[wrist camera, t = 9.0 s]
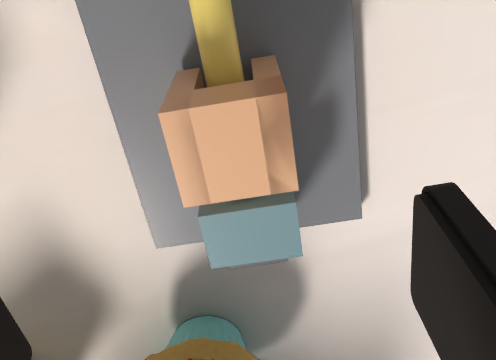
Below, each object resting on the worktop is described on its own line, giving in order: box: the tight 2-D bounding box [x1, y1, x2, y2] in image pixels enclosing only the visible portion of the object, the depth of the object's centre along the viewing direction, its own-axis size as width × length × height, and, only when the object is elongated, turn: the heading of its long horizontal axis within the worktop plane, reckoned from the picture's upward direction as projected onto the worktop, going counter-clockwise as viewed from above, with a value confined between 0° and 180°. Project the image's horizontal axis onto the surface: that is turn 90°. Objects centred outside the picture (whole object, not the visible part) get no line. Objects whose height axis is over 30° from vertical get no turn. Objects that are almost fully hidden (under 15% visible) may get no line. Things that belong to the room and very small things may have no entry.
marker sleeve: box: [158, 55, 299, 208], centre depth 19 cm, size 4×5×6 cm
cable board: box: [75, 0, 362, 269], centre depth 18 cm, size 25×12×5 cm, turn 9°
